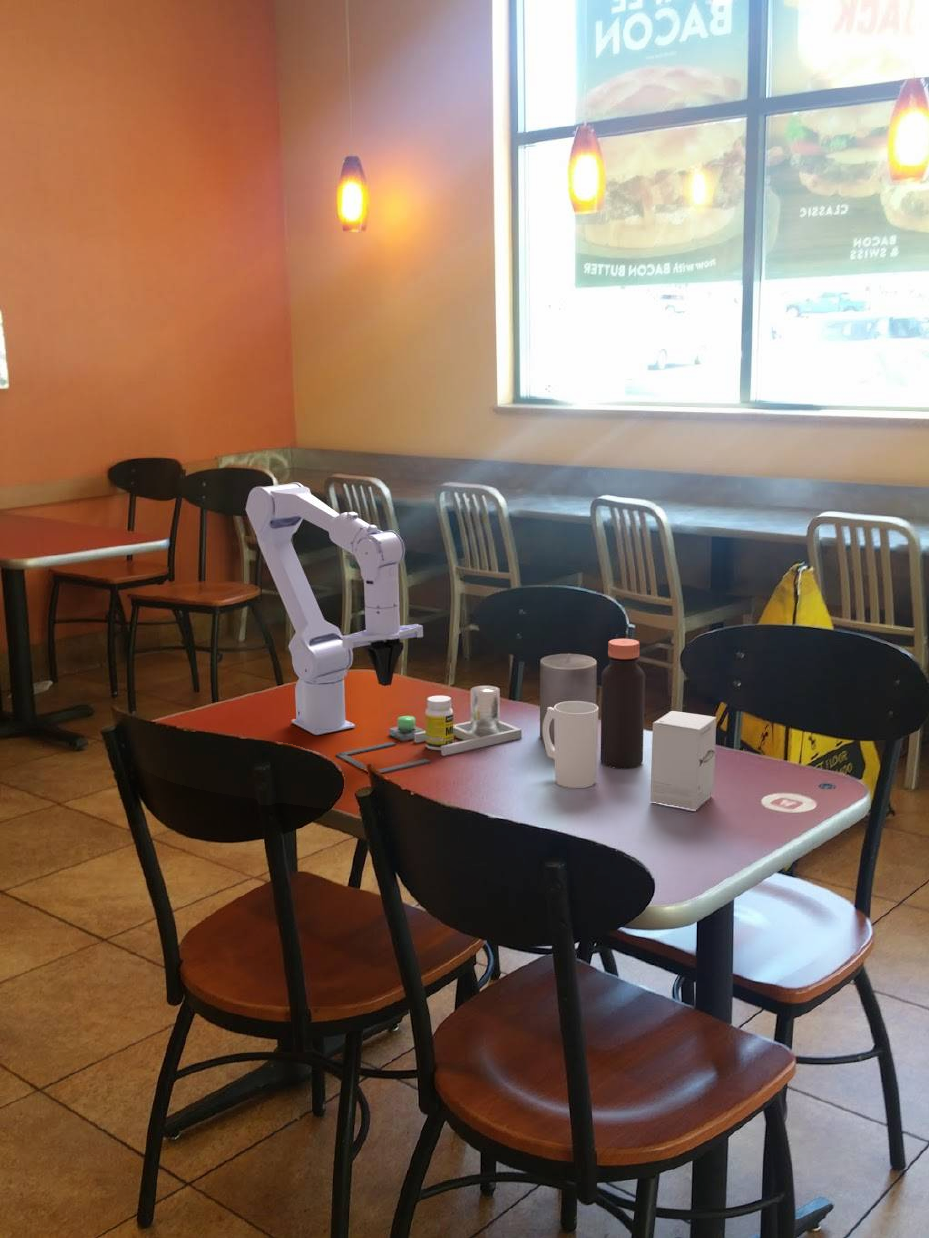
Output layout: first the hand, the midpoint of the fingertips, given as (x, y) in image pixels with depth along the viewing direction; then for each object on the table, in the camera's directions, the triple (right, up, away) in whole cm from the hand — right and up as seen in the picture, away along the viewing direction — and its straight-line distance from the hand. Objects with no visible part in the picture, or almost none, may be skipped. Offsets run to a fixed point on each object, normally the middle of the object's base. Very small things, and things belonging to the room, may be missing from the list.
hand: (384, 684), depth 208 cm
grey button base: (+3, -9, +6) cm, 12 cm away
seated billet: (+17, -9, +6) cm, 20 cm away
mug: (+29, -14, -16) cm, 36 cm away
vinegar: (+39, -12, -8) cm, 41 cm away
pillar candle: (+31, -10, +4) cm, 33 cm away
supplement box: (+46, -16, -25) cm, 54 cm away
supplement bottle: (+9, -11, 0) cm, 14 cm away
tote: (0, -12, -5) cm, 13 cm away
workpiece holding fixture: (+14, -10, +3) cm, 17 cm away
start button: (+3, -9, +6) cm, 11 cm away
